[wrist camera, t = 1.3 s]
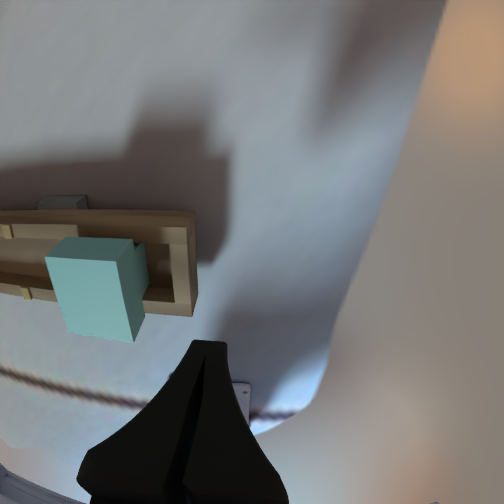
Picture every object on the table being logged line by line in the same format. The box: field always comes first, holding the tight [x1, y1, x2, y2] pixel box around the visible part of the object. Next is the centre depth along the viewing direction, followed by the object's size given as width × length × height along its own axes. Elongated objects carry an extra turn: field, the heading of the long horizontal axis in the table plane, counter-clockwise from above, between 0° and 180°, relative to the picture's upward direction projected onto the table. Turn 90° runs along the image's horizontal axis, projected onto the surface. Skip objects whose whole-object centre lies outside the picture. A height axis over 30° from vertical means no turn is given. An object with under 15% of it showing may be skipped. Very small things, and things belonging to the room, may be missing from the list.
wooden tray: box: [0, 195, 198, 317], centre depth 20 cm, size 7×20×4 cm, turn 88°
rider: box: [45, 237, 150, 343], centre depth 17 cm, size 5×4×5 cm
